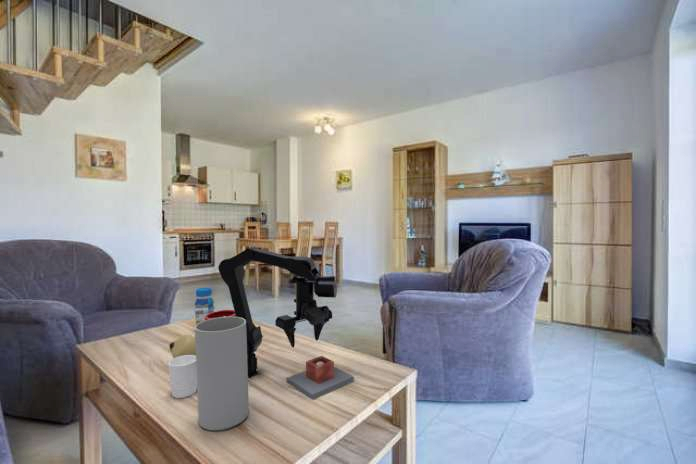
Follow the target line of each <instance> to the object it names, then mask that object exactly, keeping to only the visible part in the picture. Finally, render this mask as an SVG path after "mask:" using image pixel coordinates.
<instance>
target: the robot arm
mask: <svg viewBox="0 0 696 464" xmlns="http://www.w3.org/2000/svg"><path fill="white" fill-rule="evenodd" d="M252 261H254V262H257V263H261V264H265V265H269V266H274V267H276V268H277V267H278V268H280V269H284V270H286V271H287V272H289V273H290V274H293V275H294V276H293V277H292V278H291V279H290V280H289V284H295V298H293V303H295V311H293V315H294V316H290V315H288V314H286V315H281V316H277V317H276V319H275V327H277V328H279V329H281V330H283V332H284V334H285V336H286V337H287V339H288V343H289V344H290V346H291V348H293V349H294V348H295V343H296V342H295V341H296V339H295V333H296V331H297V327H295V326H296V324H297V323H301V322H305V321H308V324H310V325H311V326H313V334H314V335H313V336H314V340H315V341H319V338H320V336H321V333H322V330H323V327H324V326H325V325H326V324H327V322H330V320H331V319H333V311H332V310H331V309H330V308H329V306H328V305H323V306H318V304H317V303H318V302H317V300H316V299H315V298H314V295H315V296H317V297H318V298H334V299H335V298H337V294H338V284H337V280H336V275H329V276H322V274H321V273H320V271H319V270H318V269H317V268H316V263H315V260H314V259H313V258H312V257H308V256H289V255H285V254H281V253H277V252H274V251H270V250H269V251H268V250H265V249H261V248H258V247H256V246H250V247H248V248H245V249H244V250H243V251H241V252H239V253H237V254H236V255H234V256H232V257H229V258H226V259H225V258H224V259H223V260H221V261H220V262H219V264H218V272H219V275H220V277H221V279H222V281H223V282H224V283H225V284H226V286H227V287H228V290H229V294H230V300H231V302H232V307H233V310H234V311H235V315H236V317H240V318H243V319H245V320H246V337H247V367H248V378H250V377H252V376H255V375H258V374H259V371H258V358H257V356H256V353H255V352H256V351H257V349H258V348H259V347H260V346H261V344H262V342H263V338H264V335H263V334H262V330H261V329H262V328H261V326H260V325H258V326H256V325H255V323H254V322H253V319H252V313H251V310H250V305H249V301H248V299H247V295H246V294H247V293H246V291H245V290H246V289H245V285H244V276H245V266H247V265H249V263H251V262H252Z"/></svg>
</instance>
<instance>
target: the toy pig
mask: <svg viewBox="0 0 696 464" xmlns="http://www.w3.org/2000/svg"><path fill="white" fill-rule="evenodd" d="M168 347H169V351H170V353H171V356H172V359H174V358H176V357H179V356H184V355H194V356H196V348H195V336H193V335H190V334H183V335H181V336H180V337H179V338H176V339H173V341H172V342H171V343H169V345H168Z"/></svg>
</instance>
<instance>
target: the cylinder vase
mask: <svg viewBox="0 0 696 464" xmlns="http://www.w3.org/2000/svg"><path fill="white" fill-rule="evenodd" d="M194 337H195V348H196V373H197V389H196V392H197V393H196V394H197V397H196V398H197V417H198V419H197V420H198V421H197V422H198V424H199V426H200V427H201V428H203V429H205V430H208V431H224V430H229V429H230V428H233V427H235V426H238V425H239V424H240V423H242V422H244V421H245V419H246V418H247V416H248V415H249V413H250V412H249V411H250V404H249V377H248V367H247V337H246V320H245V319H243V318H240V317H226V316H224V317H219V318H213V319H209V320H205V321H202V322H200V323H198V324H197V325H196V324H195V326H194Z"/></svg>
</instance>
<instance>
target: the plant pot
mask: <svg viewBox="0 0 696 464" xmlns="http://www.w3.org/2000/svg"><path fill="white" fill-rule="evenodd" d="M219 317H236V315H235V311H234V309H222V310H217V311H216V310H215V311H214V312H212V313H209V314H207V315H206V316H205V320H209V319H213V318H219Z"/></svg>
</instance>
